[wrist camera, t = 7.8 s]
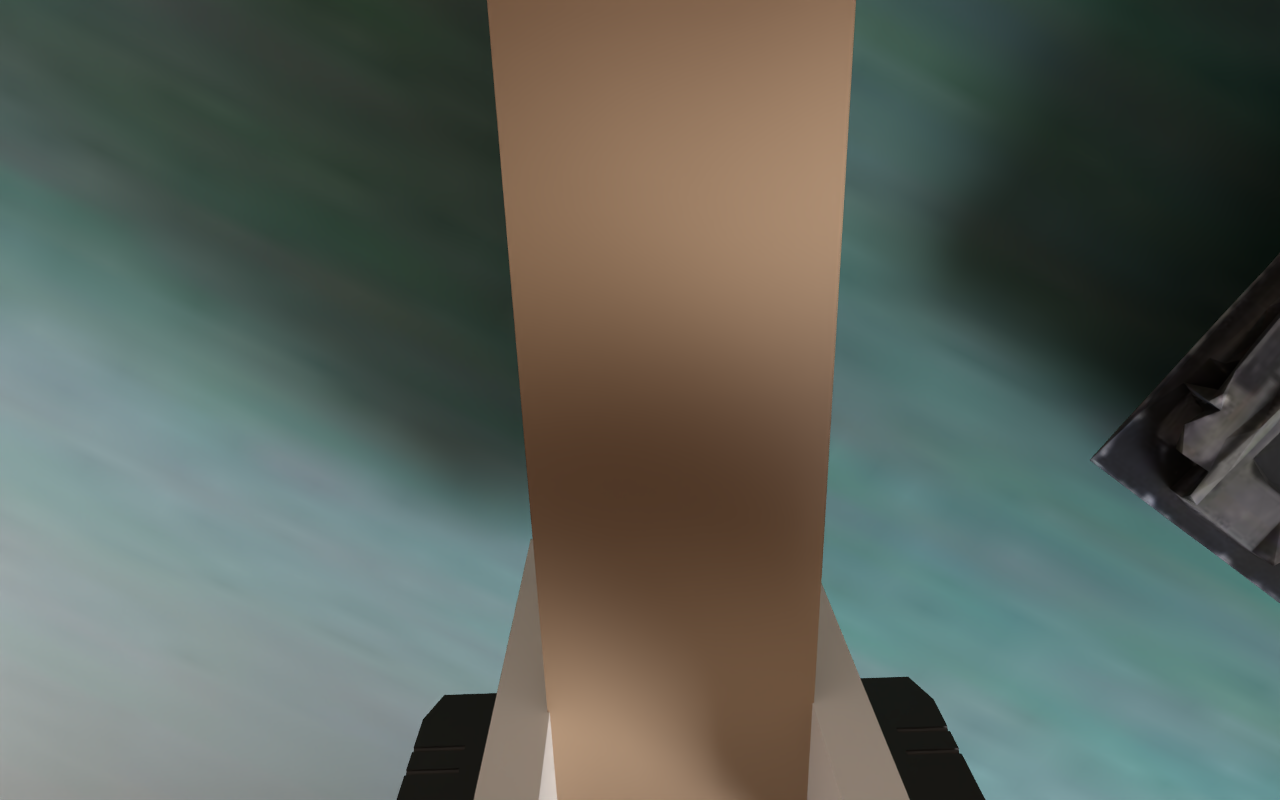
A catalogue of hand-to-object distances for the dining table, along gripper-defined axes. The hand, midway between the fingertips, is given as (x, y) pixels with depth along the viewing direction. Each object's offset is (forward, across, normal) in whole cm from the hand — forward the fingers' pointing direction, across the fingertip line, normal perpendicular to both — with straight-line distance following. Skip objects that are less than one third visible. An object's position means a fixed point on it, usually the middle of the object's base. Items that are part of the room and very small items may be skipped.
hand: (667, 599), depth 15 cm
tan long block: (0, 0, -4) cm, 4 cm away
